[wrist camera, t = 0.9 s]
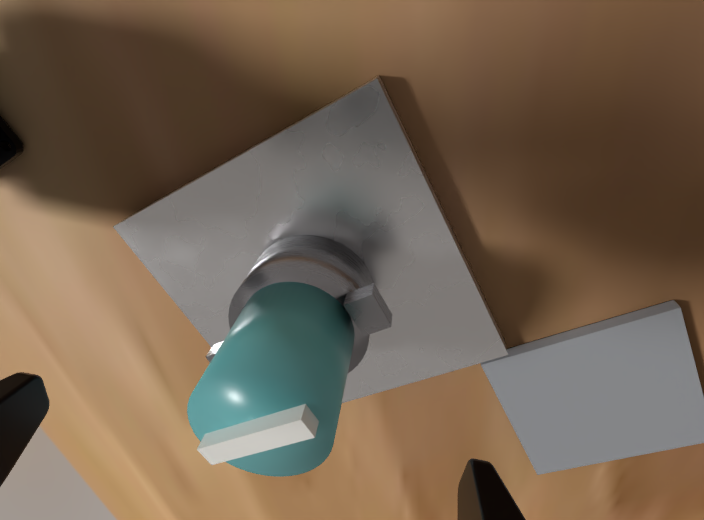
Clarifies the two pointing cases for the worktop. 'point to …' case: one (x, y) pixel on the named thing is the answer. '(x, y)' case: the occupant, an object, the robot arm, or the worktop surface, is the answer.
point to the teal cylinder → (276, 383)
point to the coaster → (603, 390)
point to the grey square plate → (327, 243)
